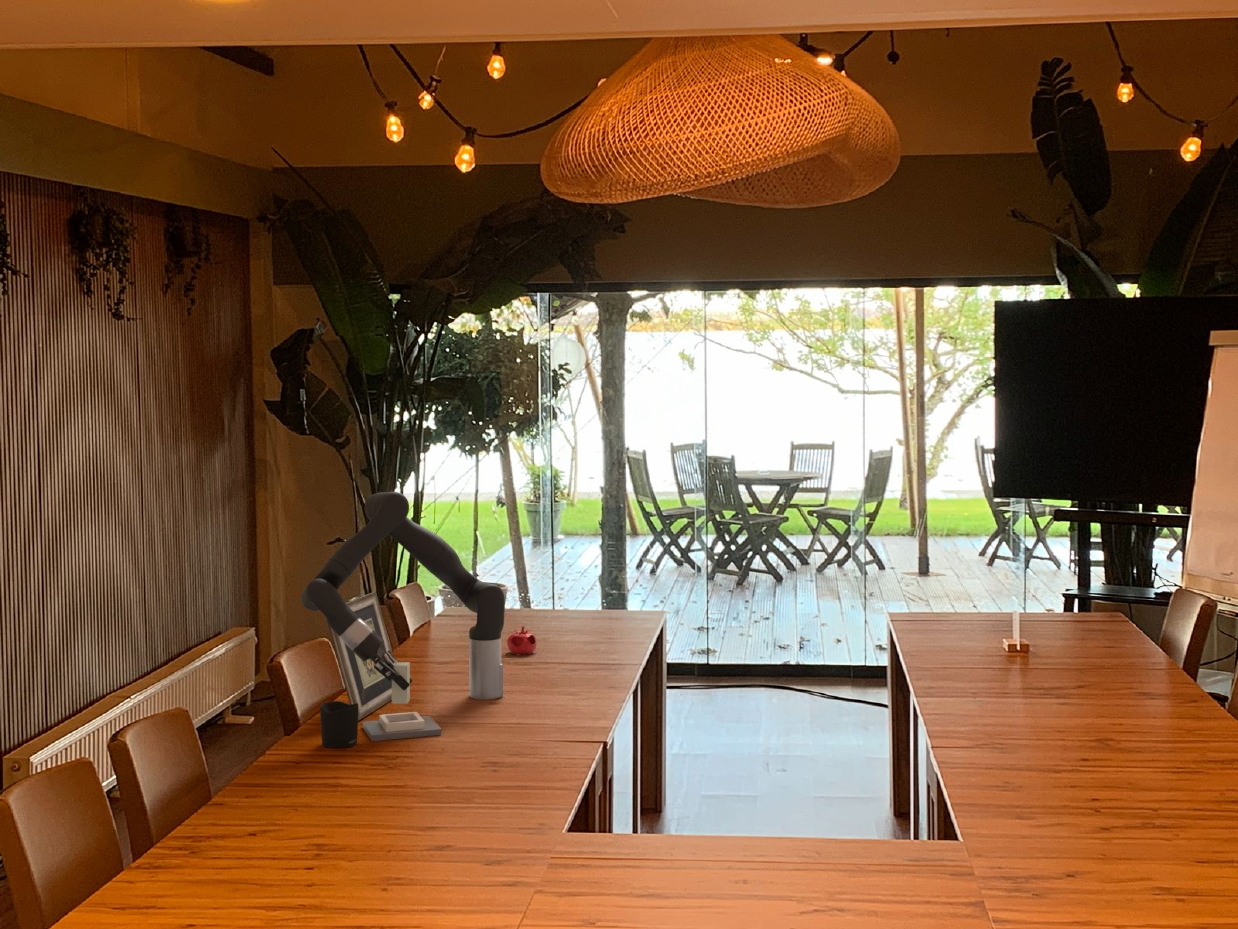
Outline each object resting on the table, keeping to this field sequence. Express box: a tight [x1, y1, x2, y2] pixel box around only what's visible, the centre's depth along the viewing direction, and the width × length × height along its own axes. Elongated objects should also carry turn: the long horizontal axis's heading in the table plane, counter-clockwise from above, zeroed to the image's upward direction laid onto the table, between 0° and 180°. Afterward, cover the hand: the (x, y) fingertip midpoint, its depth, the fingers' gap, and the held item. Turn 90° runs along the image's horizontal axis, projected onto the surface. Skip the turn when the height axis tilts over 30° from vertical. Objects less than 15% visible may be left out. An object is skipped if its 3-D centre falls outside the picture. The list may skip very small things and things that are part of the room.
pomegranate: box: [506, 625, 537, 656], centre depth 429 cm, size 10×10×9 cm
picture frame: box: [327, 591, 394, 722], centre depth 355 cm, size 33×10×30 cm, turn 168°
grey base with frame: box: [362, 711, 443, 742], centre depth 330 cm, size 18×14×4 cm
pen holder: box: [319, 700, 359, 750], centre depth 317 cm, size 9×9×10 cm
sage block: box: [391, 661, 411, 705], centre depth 329 cm, size 4×4×10 cm
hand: (408, 685), depth 330 cm, fingers closed on sage block, 4 cm apart
